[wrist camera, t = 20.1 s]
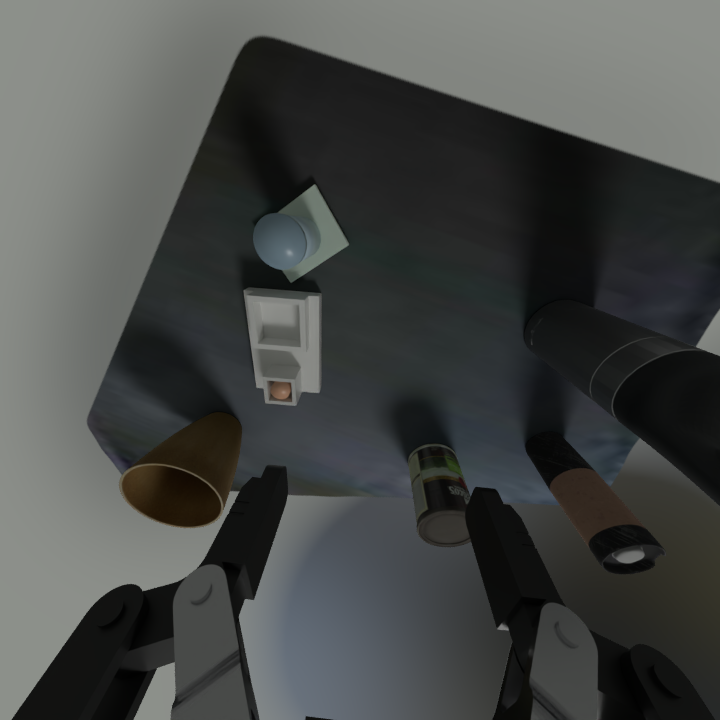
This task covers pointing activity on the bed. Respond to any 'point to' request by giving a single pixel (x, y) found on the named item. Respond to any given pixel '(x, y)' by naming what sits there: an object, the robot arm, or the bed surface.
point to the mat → (331, 233)
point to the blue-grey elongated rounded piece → (285, 240)
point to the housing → (285, 340)
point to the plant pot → (187, 474)
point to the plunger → (281, 389)
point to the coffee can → (439, 495)
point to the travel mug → (593, 507)
